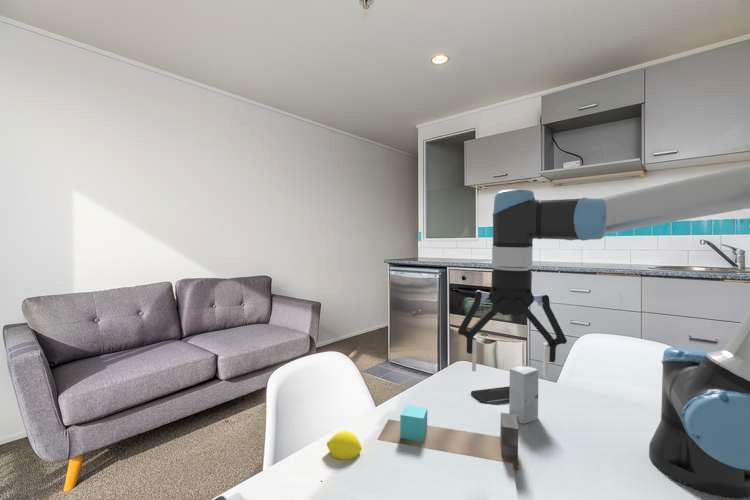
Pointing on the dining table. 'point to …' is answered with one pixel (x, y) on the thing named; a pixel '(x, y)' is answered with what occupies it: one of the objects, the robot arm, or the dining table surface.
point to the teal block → (413, 423)
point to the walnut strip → (465, 440)
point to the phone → (492, 395)
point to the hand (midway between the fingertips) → (508, 373)
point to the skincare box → (524, 393)
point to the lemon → (344, 445)
